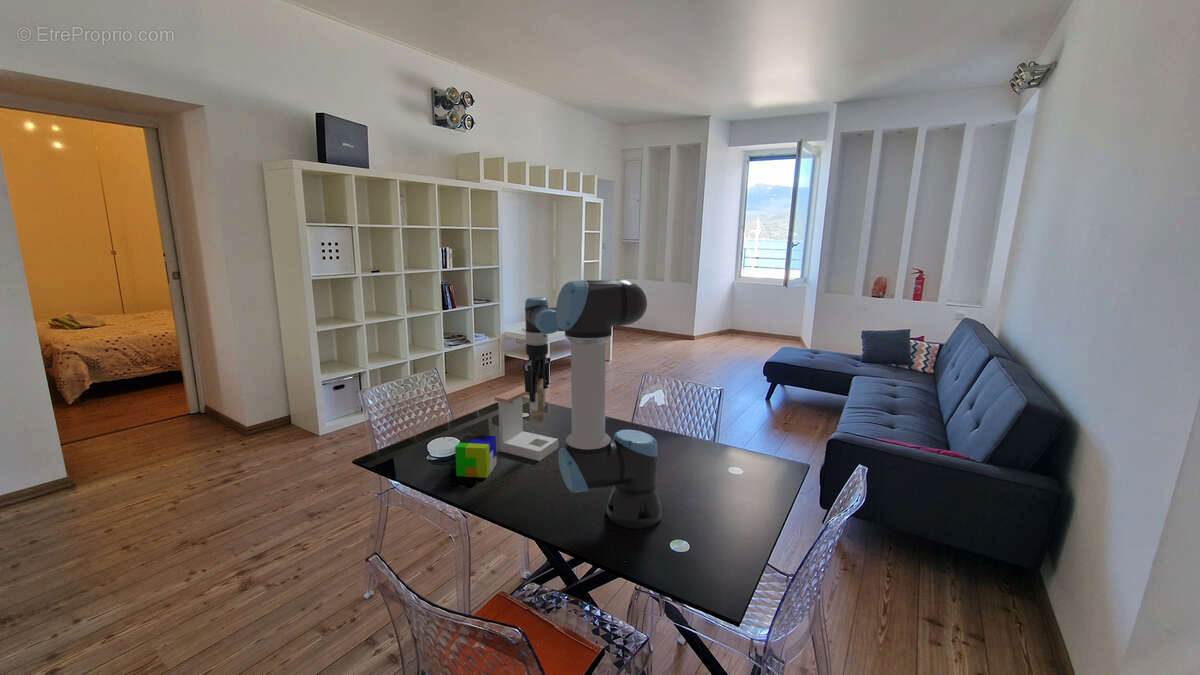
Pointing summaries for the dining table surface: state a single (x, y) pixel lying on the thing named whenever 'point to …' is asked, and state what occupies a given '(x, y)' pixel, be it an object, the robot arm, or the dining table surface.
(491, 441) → the puzzle toy
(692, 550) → the dining table surface
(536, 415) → the dowel
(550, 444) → the socket board
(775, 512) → the dining table surface
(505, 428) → the wood-topped pedestal
